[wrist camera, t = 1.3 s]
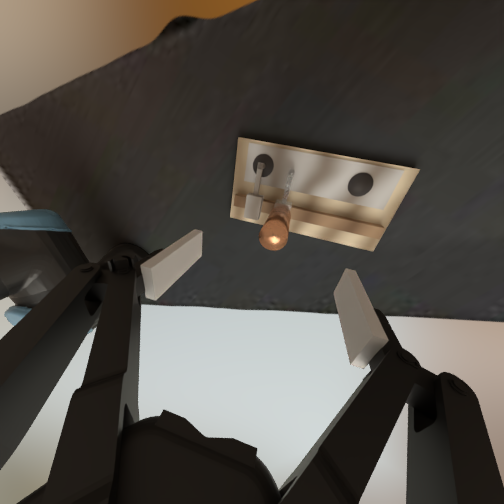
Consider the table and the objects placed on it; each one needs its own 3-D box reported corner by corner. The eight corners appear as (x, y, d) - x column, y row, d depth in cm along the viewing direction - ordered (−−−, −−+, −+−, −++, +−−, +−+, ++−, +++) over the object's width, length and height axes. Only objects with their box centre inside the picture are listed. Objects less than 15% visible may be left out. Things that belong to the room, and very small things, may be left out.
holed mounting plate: (232, 215, 38) (223, 222, 33) (240, 137, 31) (230, 134, 26) (370, 248, 34) (381, 261, 30) (415, 169, 27) (437, 170, 23)
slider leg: (271, 218, 34) (256, 248, 22) (282, 166, 29) (271, 171, 18) (288, 222, 33) (282, 255, 22) (303, 170, 29) (305, 177, 18)
